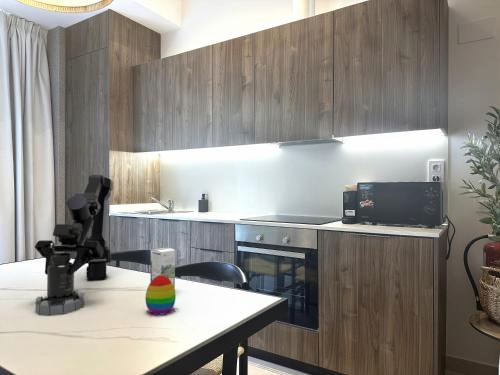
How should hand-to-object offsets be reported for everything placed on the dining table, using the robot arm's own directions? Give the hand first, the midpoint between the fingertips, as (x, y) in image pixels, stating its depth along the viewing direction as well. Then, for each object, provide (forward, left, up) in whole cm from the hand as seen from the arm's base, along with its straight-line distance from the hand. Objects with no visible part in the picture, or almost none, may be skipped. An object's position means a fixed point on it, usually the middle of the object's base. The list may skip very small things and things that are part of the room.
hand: (58, 274), depth 99 cm
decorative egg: (-28, +11, -10) cm, 31 cm away
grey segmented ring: (-1, -1, -10) cm, 10 cm away
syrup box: (-30, -6, -10) cm, 32 cm away
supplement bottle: (0, -1, -7) cm, 7 cm away
